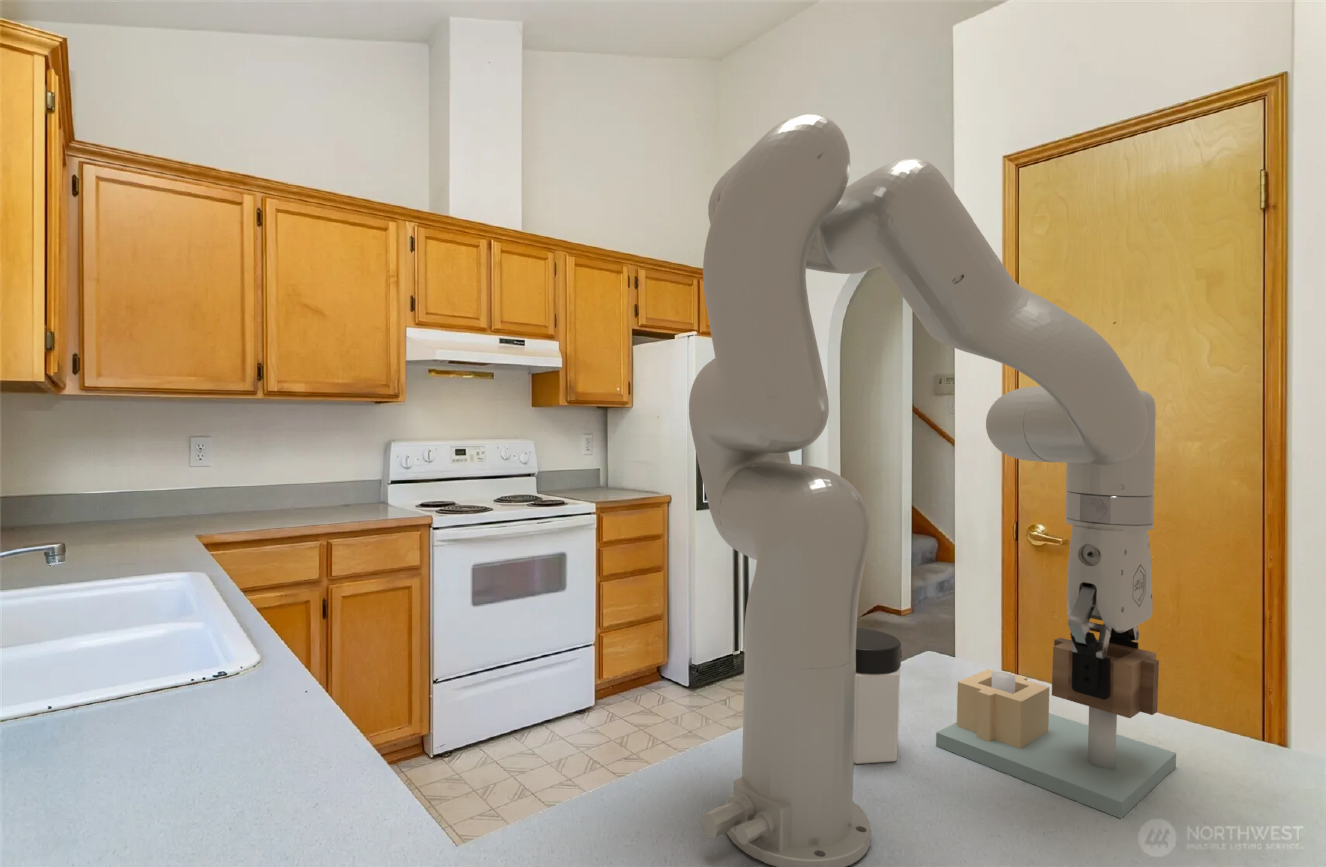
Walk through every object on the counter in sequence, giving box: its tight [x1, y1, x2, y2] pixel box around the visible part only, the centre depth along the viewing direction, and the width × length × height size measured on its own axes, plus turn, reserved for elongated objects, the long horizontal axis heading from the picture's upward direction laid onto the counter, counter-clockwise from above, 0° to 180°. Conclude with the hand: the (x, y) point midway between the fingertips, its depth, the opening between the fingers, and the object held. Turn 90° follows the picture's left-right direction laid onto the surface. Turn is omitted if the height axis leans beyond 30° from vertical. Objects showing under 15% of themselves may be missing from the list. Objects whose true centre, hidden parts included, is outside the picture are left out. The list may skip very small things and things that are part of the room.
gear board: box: [935, 669, 1177, 820], centre depth 75 cm, size 16×18×8 cm
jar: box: [854, 627, 903, 765], centre depth 77 cm, size 9×8×12 cm
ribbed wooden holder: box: [1051, 637, 1160, 719], centre depth 71 cm, size 7×9×5 cm
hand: (1105, 684), depth 71 cm, fingers closed on ribbed wooden holder, 7 cm apart
